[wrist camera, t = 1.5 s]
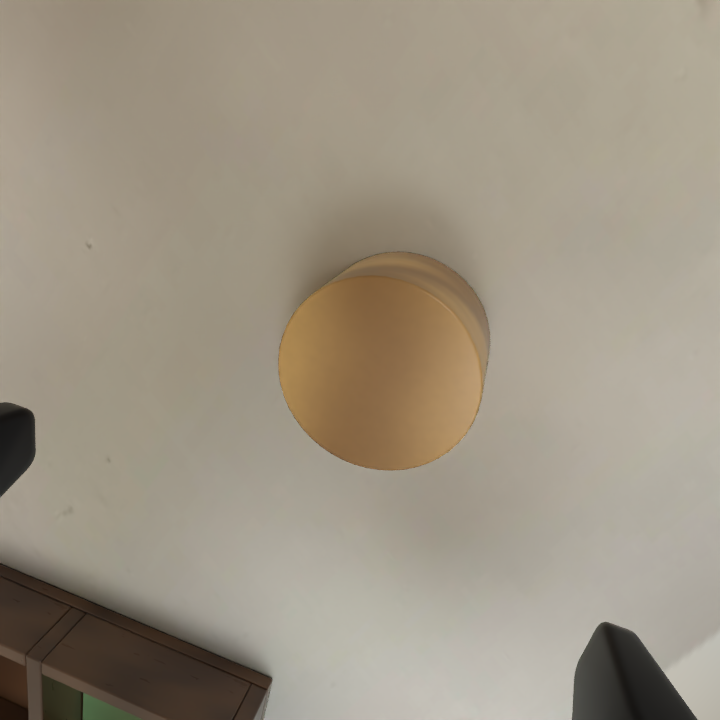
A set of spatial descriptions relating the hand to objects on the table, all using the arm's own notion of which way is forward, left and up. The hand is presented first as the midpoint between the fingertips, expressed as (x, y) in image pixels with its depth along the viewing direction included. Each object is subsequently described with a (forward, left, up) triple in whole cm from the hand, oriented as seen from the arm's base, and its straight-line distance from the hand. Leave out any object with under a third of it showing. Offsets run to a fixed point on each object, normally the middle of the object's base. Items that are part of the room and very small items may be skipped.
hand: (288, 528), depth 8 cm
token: (0, 0, -9) cm, 9 cm away
